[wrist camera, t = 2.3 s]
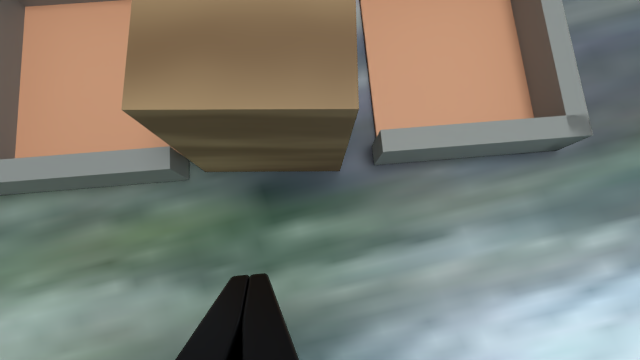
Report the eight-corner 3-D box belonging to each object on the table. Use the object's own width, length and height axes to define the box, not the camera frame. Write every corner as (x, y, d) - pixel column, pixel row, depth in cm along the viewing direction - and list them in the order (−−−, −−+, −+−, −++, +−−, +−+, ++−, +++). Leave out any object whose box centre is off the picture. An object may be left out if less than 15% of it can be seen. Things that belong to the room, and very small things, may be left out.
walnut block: (339, 171, 23) (358, 109, 13) (205, 172, 22) (121, 109, 13) (335, -46, 25) (348, -233, 16) (216, -46, 25) (154, -235, 16)
